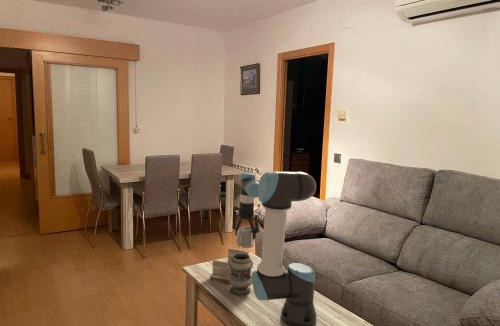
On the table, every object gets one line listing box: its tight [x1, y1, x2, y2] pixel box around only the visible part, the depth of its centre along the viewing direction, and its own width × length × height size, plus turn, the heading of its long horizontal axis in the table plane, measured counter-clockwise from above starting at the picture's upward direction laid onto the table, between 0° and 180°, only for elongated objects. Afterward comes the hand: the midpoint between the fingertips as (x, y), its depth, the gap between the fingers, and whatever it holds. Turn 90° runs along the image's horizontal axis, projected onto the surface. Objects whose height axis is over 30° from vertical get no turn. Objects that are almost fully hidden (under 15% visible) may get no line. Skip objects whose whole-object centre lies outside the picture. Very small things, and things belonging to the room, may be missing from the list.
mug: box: [236, 226, 255, 249], centre depth 190 cm, size 8×12×12 cm, turn 141°
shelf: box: [209, 247, 249, 285], centre depth 195 cm, size 26×12×10 cm, turn 159°
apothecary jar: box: [229, 253, 254, 297], centre depth 174 cm, size 12×12×18 cm
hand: (245, 243), depth 191 cm, fingers closed on mug, 7 cm apart
